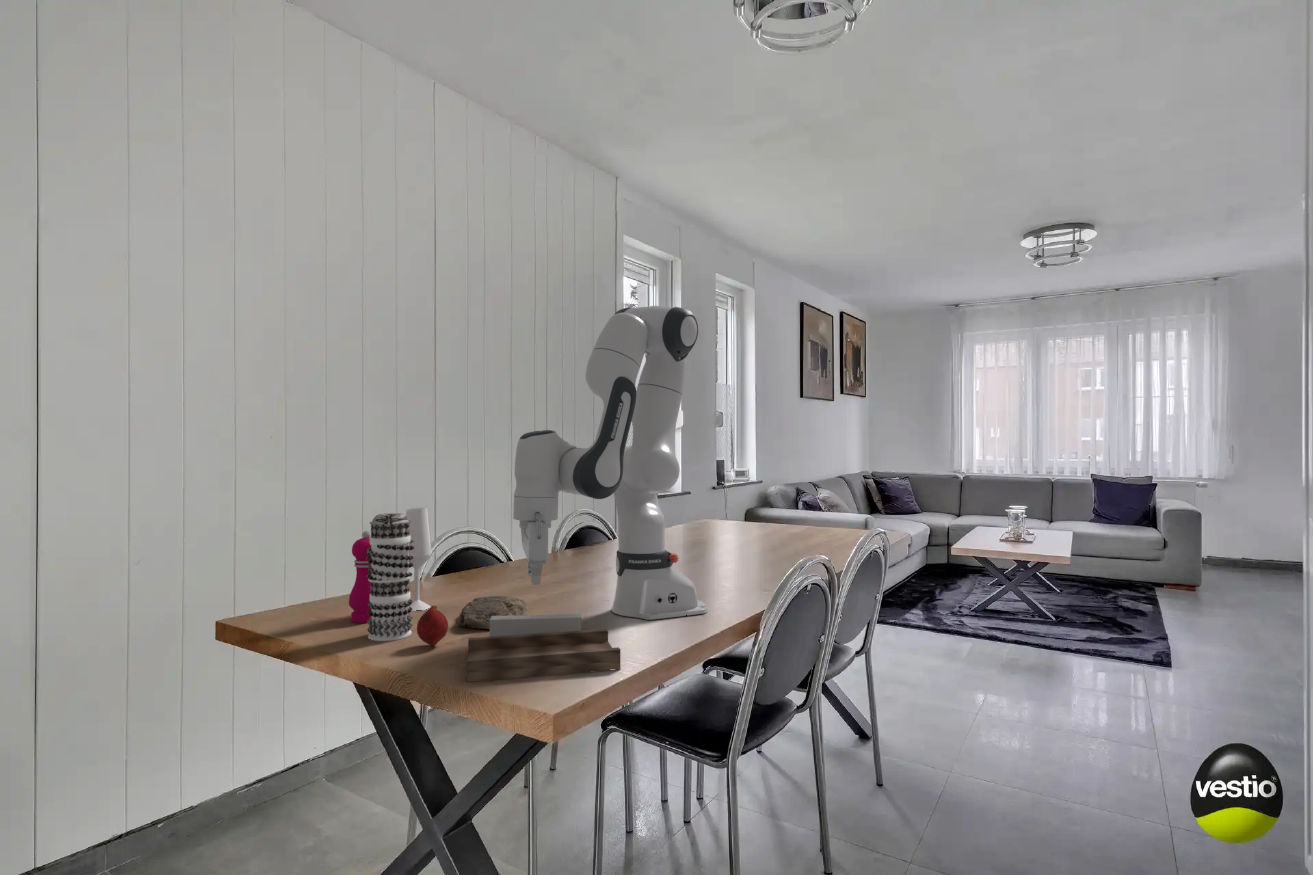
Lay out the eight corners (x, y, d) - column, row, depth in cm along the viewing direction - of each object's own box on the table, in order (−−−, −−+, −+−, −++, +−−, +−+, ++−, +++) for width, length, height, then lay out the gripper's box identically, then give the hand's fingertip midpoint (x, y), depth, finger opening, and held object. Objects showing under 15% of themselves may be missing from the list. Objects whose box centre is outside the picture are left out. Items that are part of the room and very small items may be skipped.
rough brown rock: (502, 635, 145) (532, 610, 165) (501, 611, 145) (532, 590, 165) (438, 634, 147) (476, 610, 167) (438, 611, 147) (476, 589, 167)
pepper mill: (341, 623, 154) (341, 532, 154) (361, 615, 161) (361, 528, 161) (371, 624, 152) (371, 533, 153) (389, 616, 160) (389, 529, 160)
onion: (431, 651, 132) (431, 609, 132) (410, 647, 135) (410, 606, 135) (454, 644, 137) (454, 603, 137) (433, 640, 140) (433, 600, 140)
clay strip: (581, 638, 142) (581, 613, 142) (581, 642, 139) (581, 617, 139) (491, 640, 141) (491, 616, 141) (489, 645, 138) (489, 619, 138)
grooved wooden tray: (606, 646, 135) (606, 628, 135) (620, 669, 122) (620, 649, 122) (468, 656, 129) (468, 638, 129) (466, 681, 116) (466, 660, 116)
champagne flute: (436, 608, 167) (436, 508, 168) (408, 612, 163) (408, 510, 163) (424, 603, 172) (424, 506, 173) (397, 607, 168) (397, 508, 168)
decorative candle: (423, 632, 146) (423, 513, 146) (390, 643, 138) (390, 517, 138) (390, 627, 150) (390, 511, 150) (356, 638, 141) (356, 515, 142)
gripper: (556, 515, 131) (554, 589, 130) (547, 506, 150) (545, 570, 150) (522, 515, 129) (520, 590, 129) (517, 506, 149) (515, 571, 149)
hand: (533, 579), depth 140 cm, fingers open, 8 cm apart
